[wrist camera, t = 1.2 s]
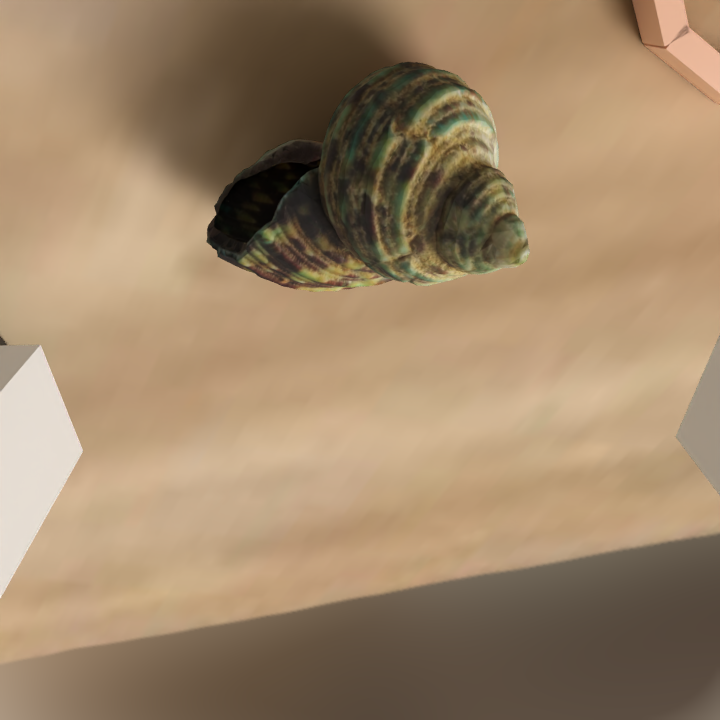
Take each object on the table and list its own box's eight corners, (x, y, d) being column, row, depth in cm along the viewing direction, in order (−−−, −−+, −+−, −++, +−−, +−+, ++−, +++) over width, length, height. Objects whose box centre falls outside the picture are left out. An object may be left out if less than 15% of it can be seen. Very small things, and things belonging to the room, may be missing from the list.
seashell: (283, -17, 22) (244, -22, 14) (518, 101, 25) (602, 155, 17) (217, 215, 28) (161, 310, 19) (416, 291, 30) (442, 403, 22)
